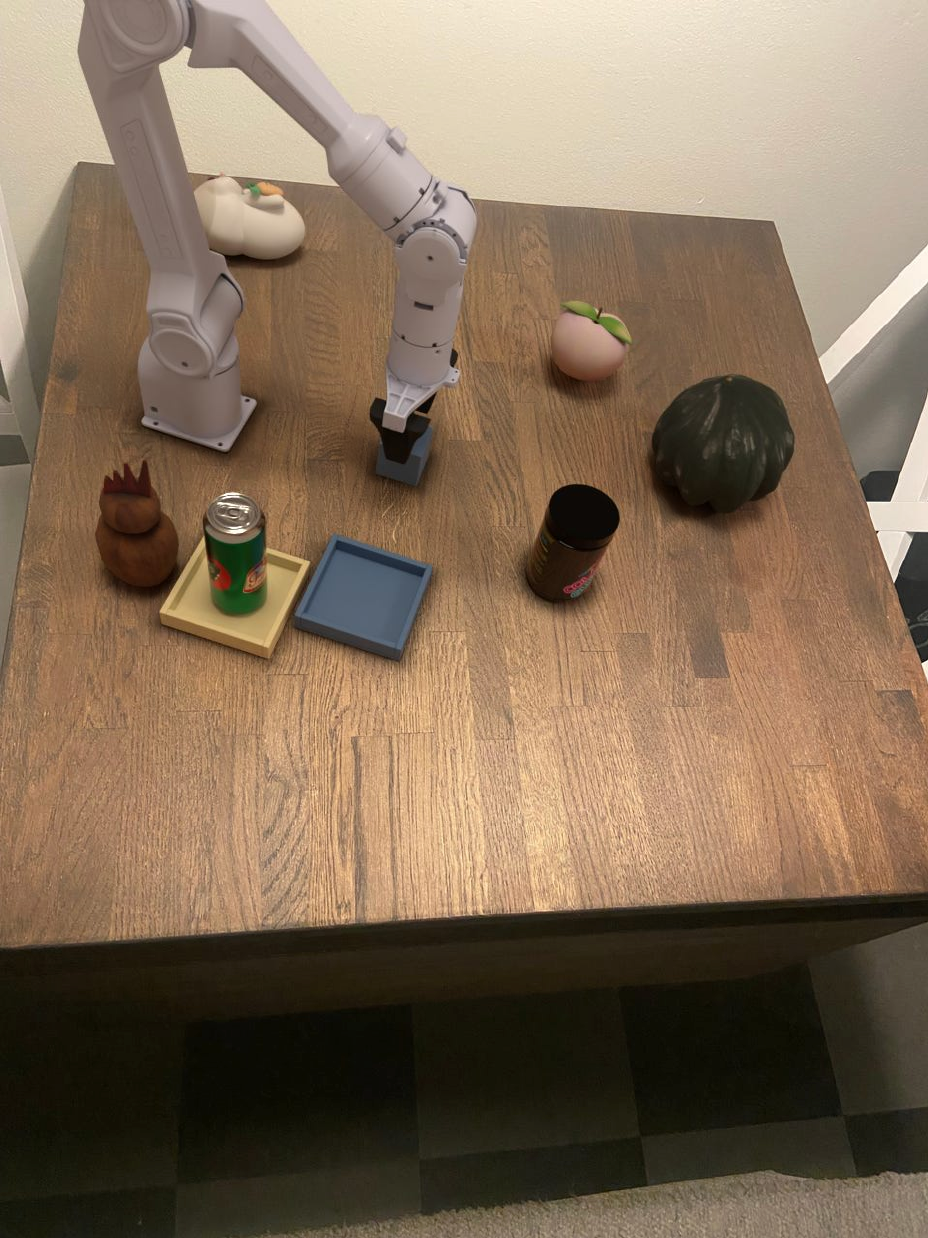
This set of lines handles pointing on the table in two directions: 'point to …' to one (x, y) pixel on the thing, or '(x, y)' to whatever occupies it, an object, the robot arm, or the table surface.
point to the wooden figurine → (135, 530)
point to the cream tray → (246, 632)
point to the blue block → (414, 464)
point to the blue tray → (364, 597)
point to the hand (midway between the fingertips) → (407, 433)
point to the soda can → (236, 553)
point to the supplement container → (571, 541)
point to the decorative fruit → (588, 342)
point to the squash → (724, 442)
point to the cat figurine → (248, 219)
